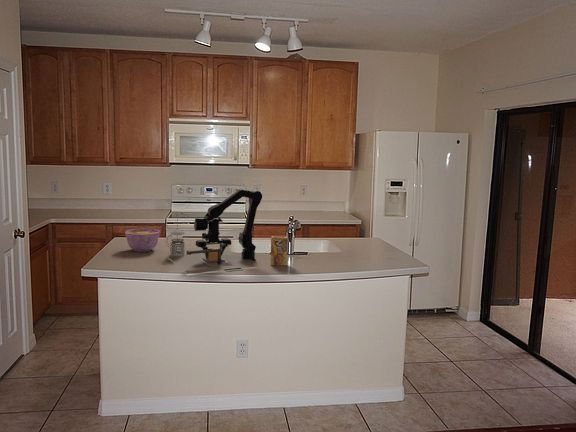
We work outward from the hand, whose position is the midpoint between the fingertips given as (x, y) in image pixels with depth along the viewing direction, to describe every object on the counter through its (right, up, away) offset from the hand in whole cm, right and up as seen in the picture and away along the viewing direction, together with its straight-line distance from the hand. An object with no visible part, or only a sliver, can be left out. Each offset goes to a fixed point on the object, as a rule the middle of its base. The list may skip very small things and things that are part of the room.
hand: (213, 258), depth 272 cm
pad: (+11, -5, -13) cm, 18 cm away
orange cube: (0, -1, 0) cm, 1 cm away
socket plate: (+1, -3, -1) cm, 3 cm away
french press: (-23, 0, +12) cm, 26 cm away
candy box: (+36, -4, -1) cm, 36 cm away
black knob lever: (-3, -3, -11) cm, 12 cm away
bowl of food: (-46, +2, +24) cm, 52 cm away
